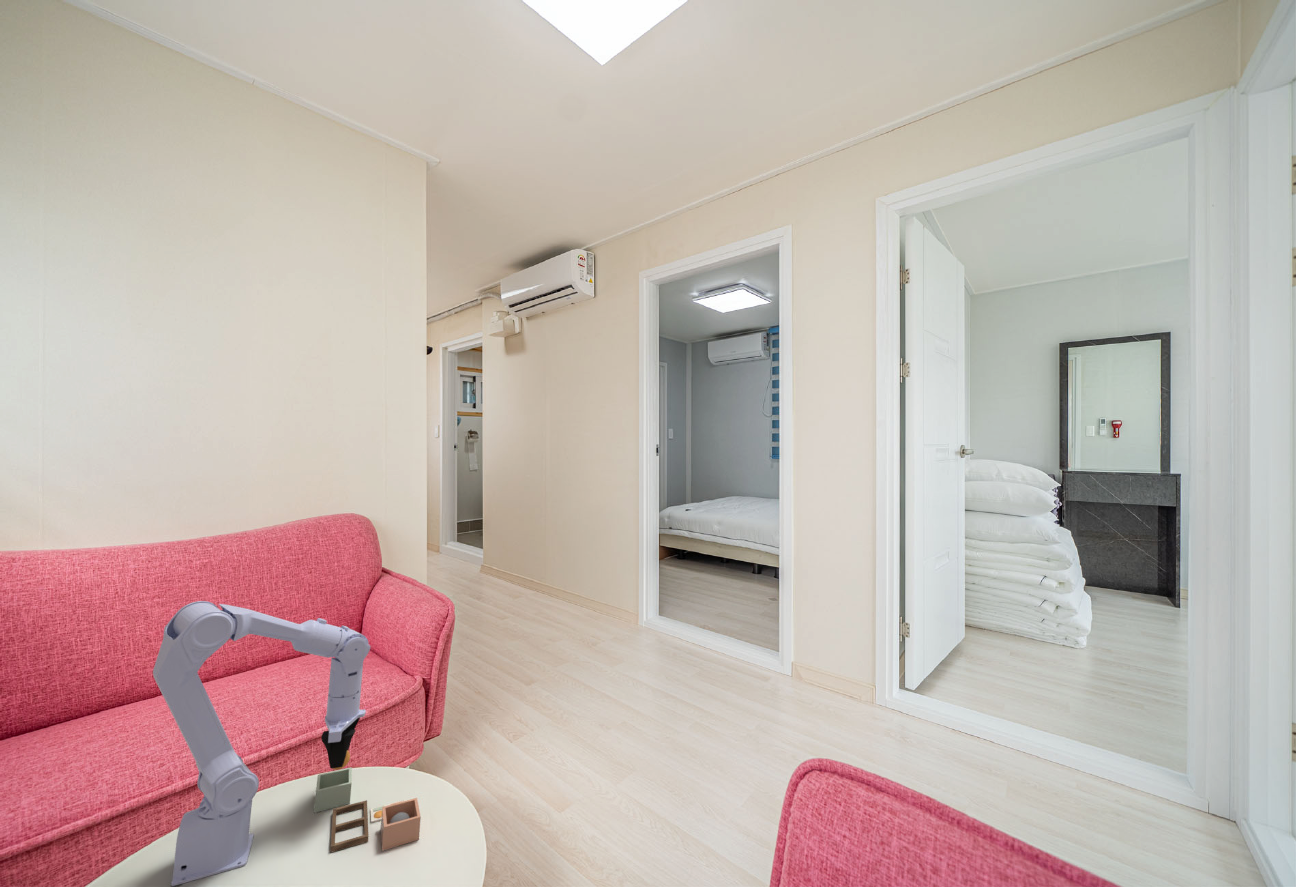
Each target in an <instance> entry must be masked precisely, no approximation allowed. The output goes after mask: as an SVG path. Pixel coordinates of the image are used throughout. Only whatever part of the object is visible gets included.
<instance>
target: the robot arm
mask: <svg viewBox="0 0 1296 887" xmlns="http://www.w3.org/2000/svg"><path fill="white" fill-rule="evenodd" d="M218 605H219V606H220V607H221V609H220V608H219V607H218V606H217V605H216V604H214V603H213V602H211V601H207V600H198V601H193V602H190V603H188V604H185V605H184V606H183V607H181V608H180V609H178V610H177V612H175V614H174V615H173V617H172V618H171V619H170V620H169V621H168V622H167V624H166V625H165V626H164V628H163V638H162V642H161V645H160V648H159V651H158V653H157V657H156V660H155V664H154V666H153V669H152V676H153V678H154V681H155V683H156V685H157V687H158V688H159V690H160V693H161V695H162V697H163V699H164V701H165V702H166V705H167V706H168V709H169V710H170V713H171V715H172V716H173V717H172V718H173V719H174V721H175V723H176V725H177V727H178V729H179V731H180V732H181V735H182V737H183V738H184V741H185V742H186V745H187V746H188V749H189V751H190V753H191V755H192V757H193V759H194V761H195V766H196V767H197V770H198V777H197V787H198V790H199V791H200V792H201V793H203V798H202V799H201V802H200V804H199V806H198V807H197V808H194V809H192V810H190V811H186V812H185V813H184V814H183V815H182V818H181V819H180V820H181V821H180V824H179V828H178V831H177V836H176V843H175V853H174V861H173V862H174V863H173V871H172V880H171V882H170V885H171V886H172V887H174V886H178V885H182V884H185V883H188V882H192V881H196V880H200V879H203V878H206V877H210V876H215V875H218V874H221V873H224V872H228V871H231V870H234V869H235V870H236V869H239V868H241V867H242V868H243V867H245V866H246V865H247V863H248V859H249V855H250V852H251V848H252V844H253V840H254V835H255V834H254V833H253V832H252V833H250V827H251V817H252V816H251V815H252V807H253V806H252V805H253V799H254V797H255V796H256V794H257V792H258V790H259V785H260V781H259V777H258V776H257V775H256V774H255V773H253V772H252V770H250V769H249V767H248V766H247V765H246V764H245V763H244V761H243V758H242V757H241V756H240V755H238V753H236V751H235V748H233V745H232V742H230V741H231V740H230V739H229V737H228V735H227V733H226V731H225V728H224V726H223V724H222V722H221V720H220V718H219V716H218V713H217V712H216V709H215V707H214V705H213V703H212V701H211V699H210V697H209V694H208V693H207V689H205V686H204V684H203V682H202V679H201V677H200V675H199V673H198V672H199V670H200V669H201V667H202V666H203V665H204V663H205V662H206V661H207V660H208V659H209V658H210V657H211V656H212V655H213V654H215V653H216V652H217V651H218V650H219V649H220V648H222V647H223V646H224V645H225V644H226V643H227V642H228V641H229V640H232V641H233V642H236V641H238V640H240V639H242V638H243V637H246V636H248V635H254V636H259V637H264V638H270V639H274V640H275V639H276V640H281V641H285V642H290V643H291V645H292V648H293V650H294V651H295V652H300V653H304V654H309V655H313V656H317V657H323V658H331V660H330V671H329V681H328V694H327V704H326V715H325V717H324V723H325V725H326V728H327V730H324V731H323V732H322V734H321V742H322V743H323V745H324V746H325V750H326V752H327V756H328V757H327V758H328V763H329V764H330V765H329V768H330V769H332V768H338V767H342V766H343V764H344V761H345V757H346V753H347V750H348V751H349V750H350V746H351V741H352V739H353V737H354V735H355V733H356V730H357V729H356V727H357V725H358V722H359V721H360V719H361V718H363V717H365V716H366V713H367V711H366V709H365V708H364V709H360V705H361V692H362V681H363V668H364V667H363V666H364V661H365V659H366V657H367V656H368V654H369V652H370V650H371V645H370V642H369V640H368V639H369V638H367V636H366V635H364V634H362V633H360V632H358V631H356V630H354V629H351V628H349V627H348V626H346V625H341V627H340V626H336V625H333V624H329V623H328V620H326V619H324V618H320V617H318V618H317V619H316V620H314V619H308V620H307V621H304V622H302V623H296V622H293V621H290V620H286V619H282V618H279V617H275V616H272V615H269V614H265V613H262V612H259V611H257V610H253V609H250V608H245V607H240V606H235V605H231V604H230V605H229V604H226V603H225V604H224V603H218Z"/></svg>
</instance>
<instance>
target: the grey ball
mask: <svg viewBox="0 0 1296 887" xmlns="http://www.w3.org/2000/svg"><path fill="white" fill-rule="evenodd" d="M409 818H410V817H409V815H408V814H407V813H404V812H400V813H398V814H396V815H395V816H394V817H393V818H392V819H391V821H390V823H389V824H391V823H394V822H398V821H402V820H405V819H409Z"/></svg>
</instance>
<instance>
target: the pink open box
mask: <svg viewBox="0 0 1296 887" xmlns="http://www.w3.org/2000/svg"><path fill="white" fill-rule="evenodd" d="M398 802H399V801H398ZM394 803H395V802H394ZM400 812H404V813H407V814H408V815H409V817H410V818H409V819H405V820H402V821H398V822H394V823H391V824H389V823H390V821H391V819H392V818H393V817H394V816H395V815H396V814H398V813H400ZM421 820H422V817H421V812H420V806H419V801H418V797H415V798H412V799H411V798H410V799H406V800H404V801H403V802H399V803H395V804H392V805H388V806H384V807H382V817H381V821H380V840H381V841H380V842H381V850H382V852H383V851H385V850H386V851H387V850H389V849H392V848H396V847H399V846H402V845H406V844H409V843H412V842H415V841H419V840H420V832H421Z"/></svg>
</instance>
